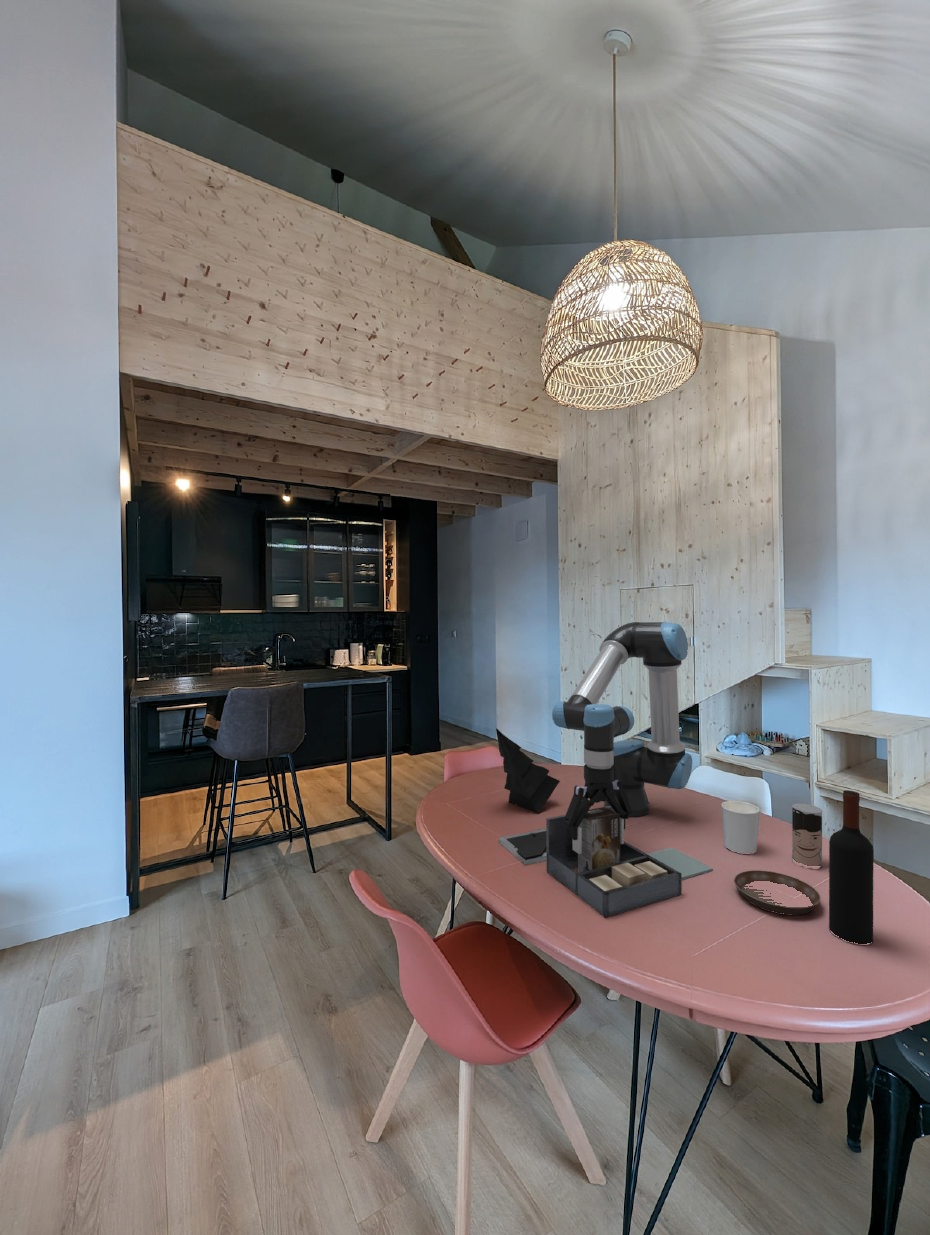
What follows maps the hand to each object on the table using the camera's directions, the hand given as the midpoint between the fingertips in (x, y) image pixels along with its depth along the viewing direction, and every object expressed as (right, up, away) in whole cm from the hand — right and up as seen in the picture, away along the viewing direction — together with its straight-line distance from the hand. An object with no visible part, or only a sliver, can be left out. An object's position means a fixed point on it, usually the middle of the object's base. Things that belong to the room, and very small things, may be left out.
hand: (598, 847), depth 139 cm
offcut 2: (+11, -7, -7) cm, 15 cm away
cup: (+57, -7, +5) cm, 58 cm away
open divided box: (+2, -7, -4) cm, 8 cm away
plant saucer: (+39, -8, -12) cm, 42 cm away
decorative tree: (-15, -7, +47) cm, 50 cm away
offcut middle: (+5, -7, -10) cm, 13 cm away
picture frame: (-12, -8, +17) cm, 22 cm away
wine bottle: (+47, -7, -26) cm, 54 cm away
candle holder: (+44, -7, +15) cm, 47 cm away
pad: (+21, -7, +5) cm, 23 cm away
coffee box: (0, -7, 0) cm, 7 cm away
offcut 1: (-1, -8, -13) cm, 15 cm away
